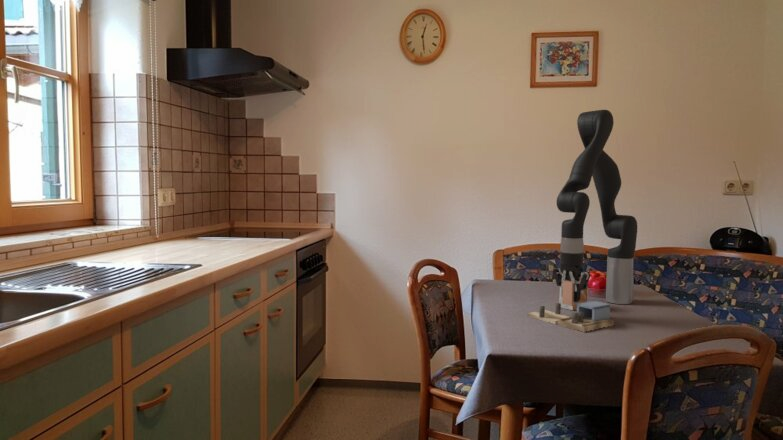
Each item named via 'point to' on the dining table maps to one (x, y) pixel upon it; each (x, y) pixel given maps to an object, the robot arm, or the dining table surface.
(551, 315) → the pin seat
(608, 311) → the cover
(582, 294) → the small box
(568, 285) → the block
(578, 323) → the base
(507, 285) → the dining table surface
